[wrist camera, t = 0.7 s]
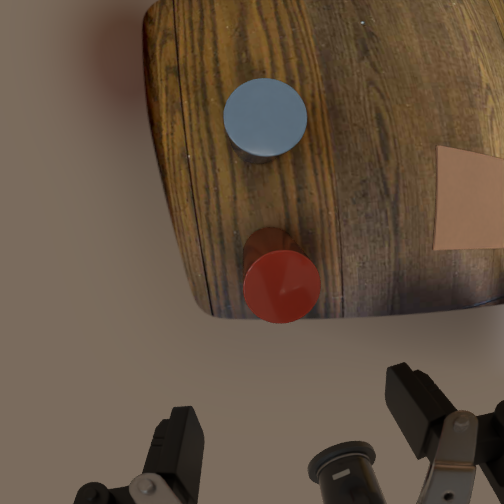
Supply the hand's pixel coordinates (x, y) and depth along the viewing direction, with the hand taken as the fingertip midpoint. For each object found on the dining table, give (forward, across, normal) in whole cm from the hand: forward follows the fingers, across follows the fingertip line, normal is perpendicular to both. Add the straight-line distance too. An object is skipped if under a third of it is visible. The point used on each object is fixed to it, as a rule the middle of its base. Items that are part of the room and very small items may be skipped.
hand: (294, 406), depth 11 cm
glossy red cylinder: (+20, +1, +1) cm, 21 cm away
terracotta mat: (+20, +28, +3) cm, 34 cm away
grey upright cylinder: (+20, +2, +13) cm, 24 cm away
